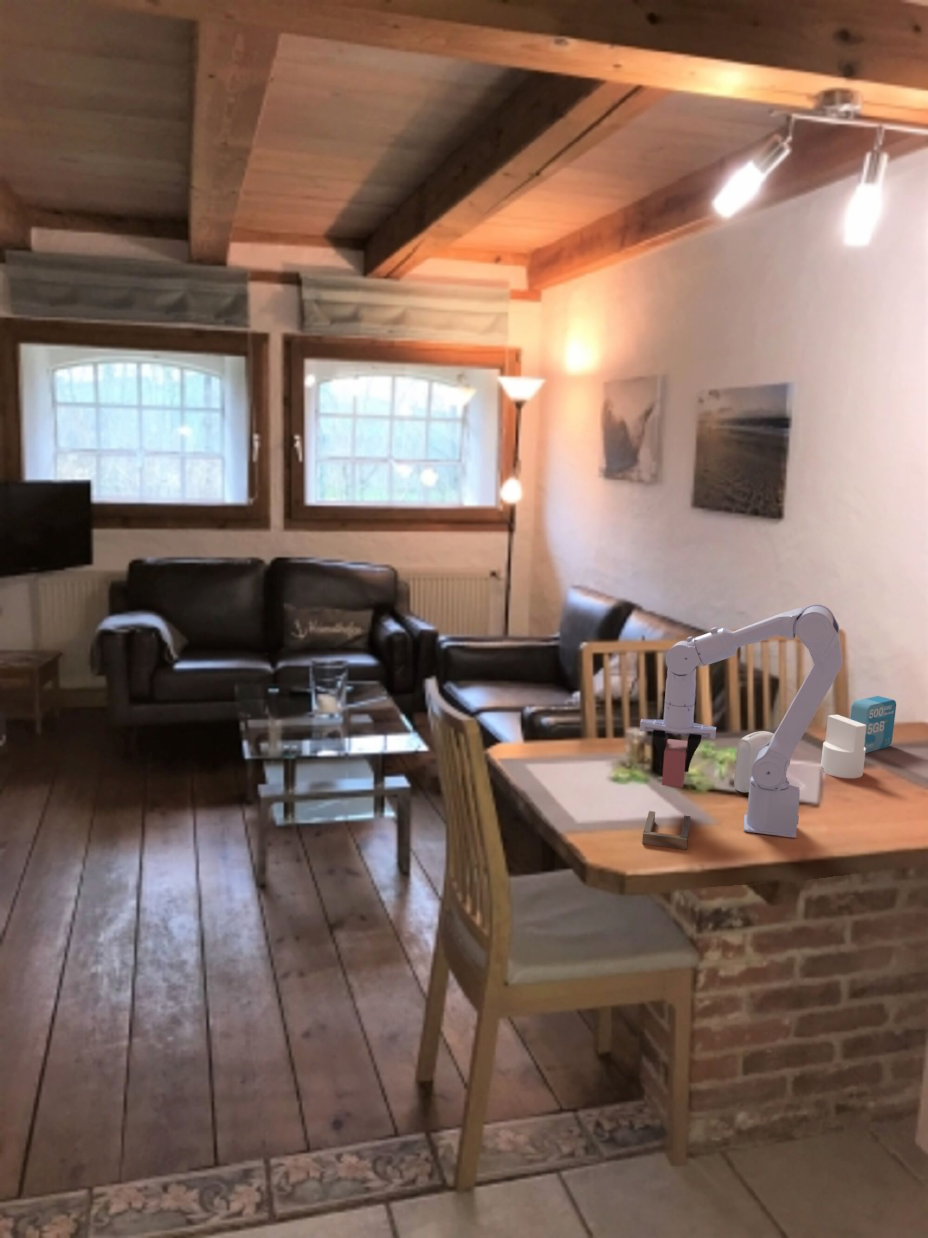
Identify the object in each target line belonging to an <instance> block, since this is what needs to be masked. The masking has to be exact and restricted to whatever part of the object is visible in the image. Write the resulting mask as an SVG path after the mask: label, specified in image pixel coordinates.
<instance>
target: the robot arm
mask: <svg viewBox="0 0 928 1238" xmlns="http://www.w3.org/2000/svg"><path fill="white" fill-rule="evenodd" d="M802 609H803V607H797V608H793V609H792V610H788V611H785V612H781V613H778V614H776V615H772V616H770V617H767V618H765V619H762V620H760V621H757V622H755V623H752V624H749V625H747V626H744V627H742V628H739V629H737V630H730V629H728V628H726V627H722V628H718V626H715V627H711V628H710V629H709V632H707V633H705V634H702V635H699V636H696V637H693V635H692V636H691V635H690V636H688V637H687V638H686V640H680V641H678V642H676V643H675V644H674V645H672V646H671V648H670V649H669V650H668V651H667V653H666V654H665V665H666V667H667V672H666V674H667V675H666V680H665V691H664V692H665V694H664V695H665V696H664V705H663V706H664V709H663V719H643V718H641V719H640V724H639V725H640V726H639V731H640V732H646V731H647V732H652V740H653V742H654V744H655V747H656V751H657V752H658V757H659V761H660V762H659V763H660V764H659V765H660V769H661V770H663V764H664V751H665V747H666V744H667V739H668V738H667V737H668V734H672V735H673V734H675V735H682V736H688V737H687V740H686V741H687V758H686V764H685V772H686V773H689V771H690V769H689V768H690V765H691V762H692V759H693V756H694V754H695V753H696V751H697V749H698V747H699V746H700V744H701V743H702V738H709V739H712V740H715V739H716V733H717V726H711V725H710V726H709V725H705V724H700V723H695V722H694V715H695V703H696V688H697V680H696V679H697V678H696V677H697V668H696V667H705V666H708V665H711V664H714V663H718V662H721V661H723V660H727V659H730V658H731V657H735V656H736V653H737V651H738V649H739V648H741V647H744V646H747V645H751V644H755V643H758V642H760V641H765V640H768V639H771V638H774V637H783V638H786V639H789V640H791V641H794V640H795V637H797V639H798V640H799V641H800V642H801V643H802V644H803V645H804V647H806V649H807V650H808V652H809V654H810V657H811V660H812V662H813V665H812V666H811V668H810V669H809V672H808V674H807V675H806V677H805V678H804V681H803V682H802V683H801V686H800V688H799V689H798V691H797V693H796V694H795V696H794V699H793V700H792V702H791V704H790V705H789V707H788V709H787V711H786V713H785V714H784V717H782V720H781V722H780V723H779V725H778V727H777V728H776V730H775V732H774V733H773V734H774V735H773V736H772V738H771V740H770V741H769V742H768V743H767V744H766V745H764V746H762V747H761V748H760V749H759V751H758V753H757V757H756V760H755V762H754V764H753V766H752V770H751V773H752V777H751V778H750V787H749V792H748V799H747V800H748V801H747V808H746V809H747V811H746V814H744V815H743V816H744V817H743V831H744V832H748V833H754V834H755V833H757V834H763V835H769V836H779V837H785V838H793V839H795V838H797V829H798V828H797V827H798V825H799V818H800V816H799V808H800V794H801V793H800V791H801V790H800V787H799V786H796V785H792V784H790V781H789V780H788V778H787V773H788V769H789V766H790V763H791V759H792V758H793V754H794V753H795V751H796V748H797V746H798V744H799V743H800V741H801V739H802V737H803V736H804V734H805V733H806V731H807V729H808V727H809V725H810V723H811V722H812V720H813V718H814V716H815V715H816V713H817V712H818V710H819V707H820V706H821V704H822V703H823V701H824V699H825V697H826V695H827V694H828V692H829V691H830V688H831V687H832V685H833V683H834V681H835V680H836V678H837V677H838V674H839V673H840V671H841V669H842V666H843V662H844V661H843V660H844V658H843V651H842V643H841V636H840V625H839V623H838V622H837V620H836V618H835V615H834V613H833V612H832V611H831V610H830V608H829V607H827V606H826V605H822V604H810V605H808V606H806V607H805V608H804V609H803V610H802Z"/></svg>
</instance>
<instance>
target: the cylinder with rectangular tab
mask: <svg viewBox="0 0 928 1238" xmlns="http://www.w3.org/2000/svg"><path fill="white" fill-rule="evenodd" d="M866 726H867V725H865V724H862V723H859V722H857V721H854V720H851V719H850V718H849V717H846V716H842V715H840V714H831V715H828V716H827V723H826V730H825V731H826V733H825V741H823V743H822V752H821V753H822V754H821V762H820V767H821V766H822V767H823V768H824V771H825V773H824V774H826V775H829V776H832V777H834V778H835V777H837V778H840V779H841V778H842V779H857V778H862V776H863V775H864V766H865V757H866V753H865V751H866V748H865V747H864V744H865V735H866Z"/></svg>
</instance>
